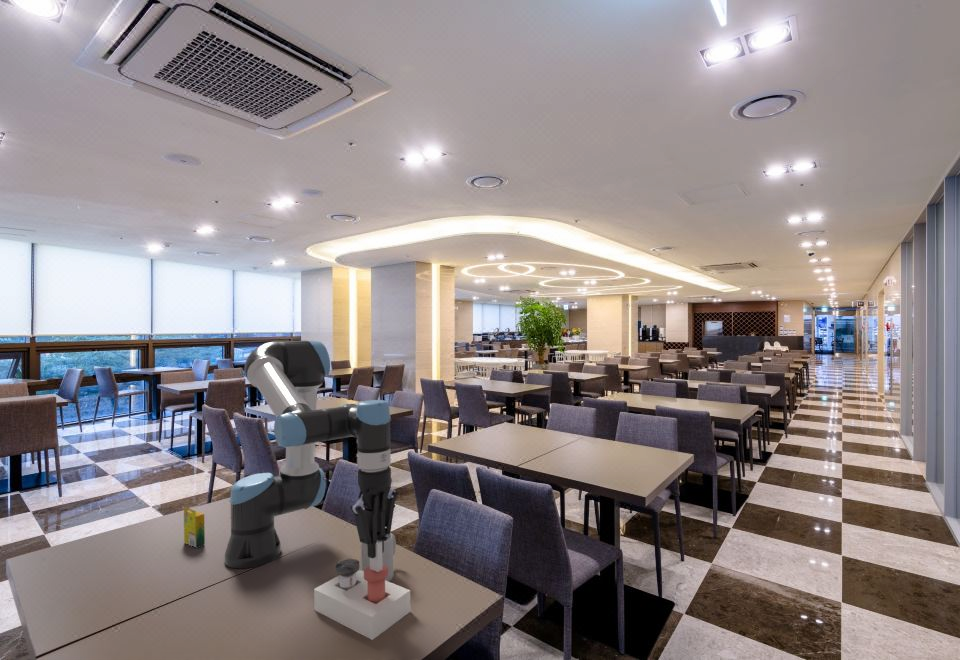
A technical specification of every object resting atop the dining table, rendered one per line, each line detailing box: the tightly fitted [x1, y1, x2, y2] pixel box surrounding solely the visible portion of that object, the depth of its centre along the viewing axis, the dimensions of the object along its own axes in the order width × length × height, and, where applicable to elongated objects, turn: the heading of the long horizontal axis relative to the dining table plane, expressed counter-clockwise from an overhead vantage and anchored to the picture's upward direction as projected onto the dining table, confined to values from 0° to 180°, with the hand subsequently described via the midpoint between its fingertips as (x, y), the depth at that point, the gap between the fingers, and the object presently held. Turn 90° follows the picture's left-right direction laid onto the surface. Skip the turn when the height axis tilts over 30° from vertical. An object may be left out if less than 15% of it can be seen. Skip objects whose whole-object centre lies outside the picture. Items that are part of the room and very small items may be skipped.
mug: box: [360, 532, 397, 582], centre depth 126 cm, size 12×8×11 cm
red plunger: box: [364, 565, 388, 604], centre depth 106 cm, size 6×6×9 cm
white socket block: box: [313, 569, 412, 641], centre depth 109 cm, size 20×12×5 cm, turn 56°
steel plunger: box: [335, 558, 360, 591], centre depth 112 cm, size 6×6×9 cm
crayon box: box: [183, 506, 206, 548], centre depth 146 cm, size 7×3×12 cm, turn 58°
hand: (376, 569), depth 106 cm, fingers closed
